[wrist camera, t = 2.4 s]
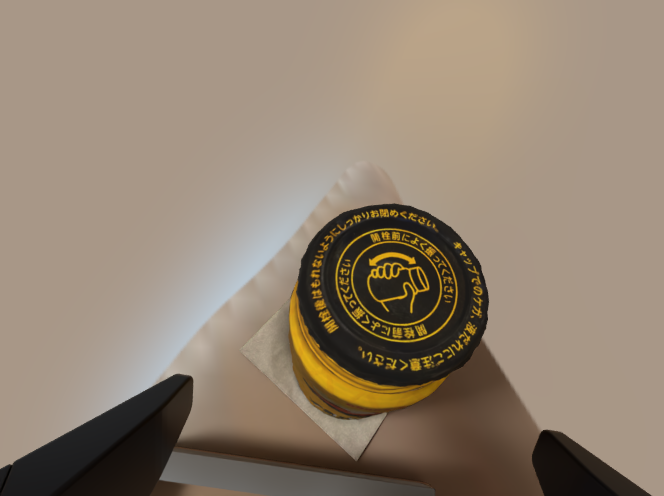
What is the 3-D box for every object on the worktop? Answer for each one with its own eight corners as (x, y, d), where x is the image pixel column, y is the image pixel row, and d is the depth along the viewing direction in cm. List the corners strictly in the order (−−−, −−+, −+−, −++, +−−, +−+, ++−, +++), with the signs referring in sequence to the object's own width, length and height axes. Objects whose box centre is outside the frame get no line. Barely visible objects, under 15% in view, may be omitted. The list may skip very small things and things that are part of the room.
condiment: (356, 461, 17) (444, 505, 6) (239, 351, 19) (161, 248, 8) (428, 349, 20) (568, 254, 9) (321, 266, 22) (337, 114, 12)
